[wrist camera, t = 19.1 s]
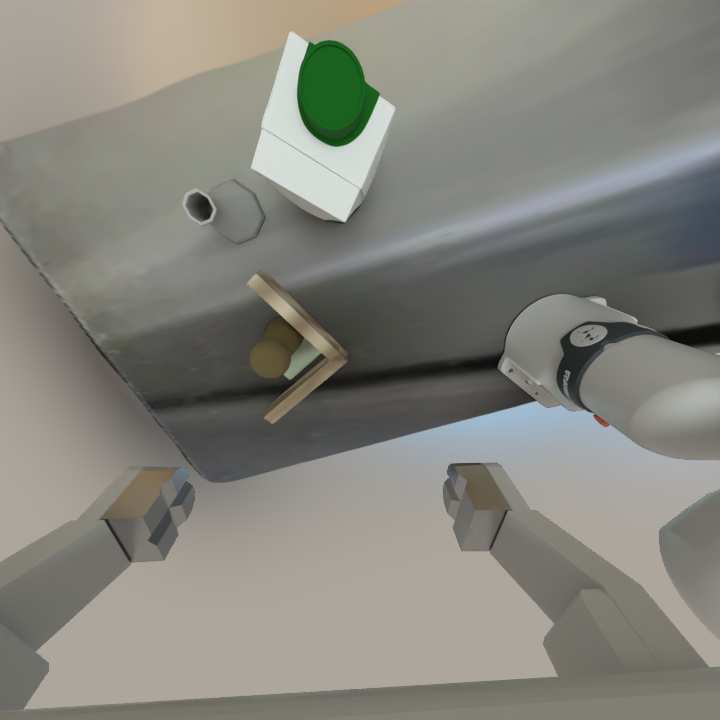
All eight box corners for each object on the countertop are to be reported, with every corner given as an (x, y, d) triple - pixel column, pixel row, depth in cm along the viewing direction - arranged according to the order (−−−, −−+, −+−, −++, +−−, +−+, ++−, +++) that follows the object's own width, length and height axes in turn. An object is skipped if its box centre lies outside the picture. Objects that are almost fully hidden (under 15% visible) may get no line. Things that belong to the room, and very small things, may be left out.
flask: (233, 167, 33) (191, 143, 24) (275, 218, 36) (251, 214, 27) (196, 207, 35) (143, 199, 26) (239, 254, 38) (205, 261, 29)
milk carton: (378, 164, 34) (416, 88, 16) (347, 234, 37) (348, 236, 19) (314, 122, 32) (274, -22, 14) (287, 200, 35) (225, 167, 17)
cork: (278, 356, 44) (259, 392, 35) (258, 325, 42) (231, 354, 32) (310, 342, 44) (300, 374, 34) (291, 309, 41) (274, 334, 31)
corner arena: (347, 352, 45) (347, 361, 42) (277, 412, 50) (272, 424, 46) (263, 269, 39) (256, 273, 35) (191, 347, 43) (179, 356, 40)
